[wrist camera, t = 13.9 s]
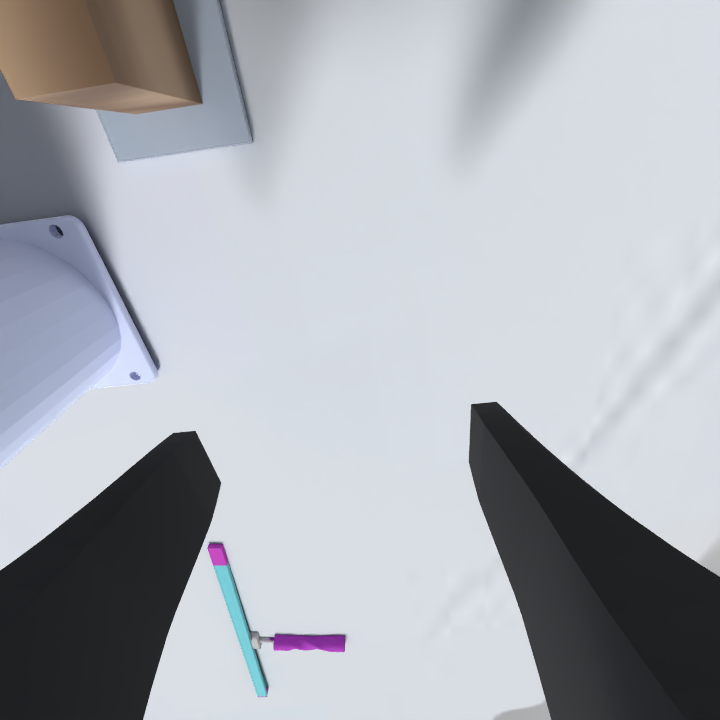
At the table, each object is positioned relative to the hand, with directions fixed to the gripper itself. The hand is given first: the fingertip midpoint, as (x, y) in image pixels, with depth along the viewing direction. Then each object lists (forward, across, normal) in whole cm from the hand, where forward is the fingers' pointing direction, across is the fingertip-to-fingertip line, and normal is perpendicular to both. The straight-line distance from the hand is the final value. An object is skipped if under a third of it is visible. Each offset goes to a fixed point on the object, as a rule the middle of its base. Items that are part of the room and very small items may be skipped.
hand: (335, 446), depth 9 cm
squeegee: (+9, +10, +32) cm, 35 cm away
